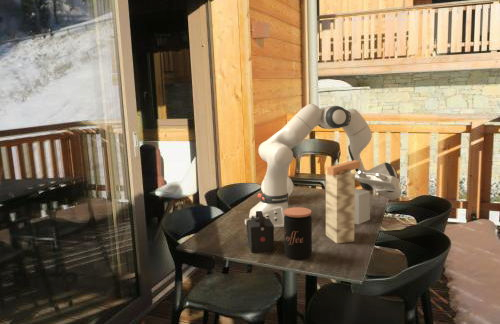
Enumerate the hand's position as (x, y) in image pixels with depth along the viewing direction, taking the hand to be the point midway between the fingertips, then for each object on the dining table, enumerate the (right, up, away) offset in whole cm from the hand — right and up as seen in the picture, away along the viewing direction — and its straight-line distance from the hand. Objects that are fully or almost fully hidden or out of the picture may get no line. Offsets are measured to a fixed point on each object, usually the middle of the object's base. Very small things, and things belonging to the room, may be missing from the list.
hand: (368, 173), depth 207 cm
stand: (-15, -28, -11) cm, 33 cm away
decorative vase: (-38, -18, +47) cm, 63 cm away
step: (-3, -23, +13) cm, 26 cm away
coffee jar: (-35, -32, -28) cm, 55 cm away
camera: (-49, -30, -17) cm, 60 cm away
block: (-14, +1, -14) cm, 20 cm away
